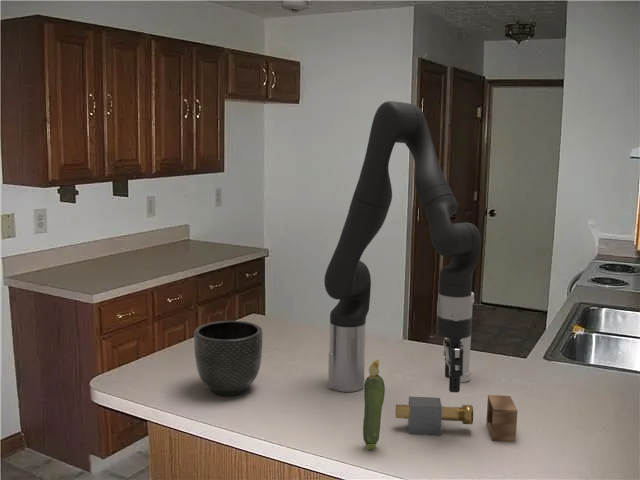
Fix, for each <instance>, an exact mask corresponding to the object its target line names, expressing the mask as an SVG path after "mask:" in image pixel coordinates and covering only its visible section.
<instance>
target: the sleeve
mask: <svg viewBox="0 0 640 480" xmlns="http://www.w3.org/2000/svg"><path fill="white" fill-rule="evenodd" d="M408 405H409V406H410V413H409V419H407V428H408V434H409V435H427V436H429V435H430V436H442V435H441V434H442V420H441V418H442V407H443V406H442V402H441V398H440V397H427V396H408Z"/></svg>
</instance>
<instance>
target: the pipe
mask: <svg viewBox="0 0 640 480" xmlns="http://www.w3.org/2000/svg"><path fill="white" fill-rule="evenodd" d="M471 295H472V307H473V305H474V303H475V293H474V292H473V291H472V294H471ZM460 341H462V345H463V348H464V352H463V375H462V376H460V383H467V381H468V382H469V381H470V380H471V373H472V372H471V369H470V361H471V360H470V359H471V345H472V344H471V342H472V334H471V335H470V336H469V337H467V338H463V339H461V340H460ZM455 370H458V366H455Z"/></svg>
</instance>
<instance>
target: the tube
mask: <svg viewBox="0 0 640 480" xmlns="http://www.w3.org/2000/svg"><path fill="white" fill-rule="evenodd" d="M394 408H395V410H394V414H395V415H394V417H395V419H401V420H402V419H406V420H408V419H409V413H410V406H409V404H395V407H394ZM441 421H447V422H448V421H449V422H452V421H453V422H461V423H462V425H473V424H474V406H473V405H472V404H462V405H461V407H460V406H458V407H457V406H442V418H441Z"/></svg>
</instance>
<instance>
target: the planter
mask: <svg viewBox="0 0 640 480" xmlns="http://www.w3.org/2000/svg"><path fill="white" fill-rule="evenodd" d="M193 332H194V333H193V340H194V341H193V344H194V345H193V346H194V358H195V365H196V370H197V374H198V376H199V379H200V380H201V381H202V382H203V384H204V385H205V386H207V387H208V388H209V389H210V391H211V392H212V393H213V394H215V395H216V396H217V395H218V396H221V397H231V396H232V397H233V396H238V395H241V394H243V393H245V392H246V391H247V390H248V387H249V386H250V385H252V384H253V383H254V382H255V380H256V378H257V377H258V374H259V372H260V369H261V363H262V357H263V355H262V354H263V328H262V327H261V326H260V325H258V324H256V323H253V322H249V321H244V320H220V321H218V320H217V321H213V322H212V321H211V322H208V323H205V324H202V325H199V326H198V327H196V328H195V329H194V331H193Z"/></svg>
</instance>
